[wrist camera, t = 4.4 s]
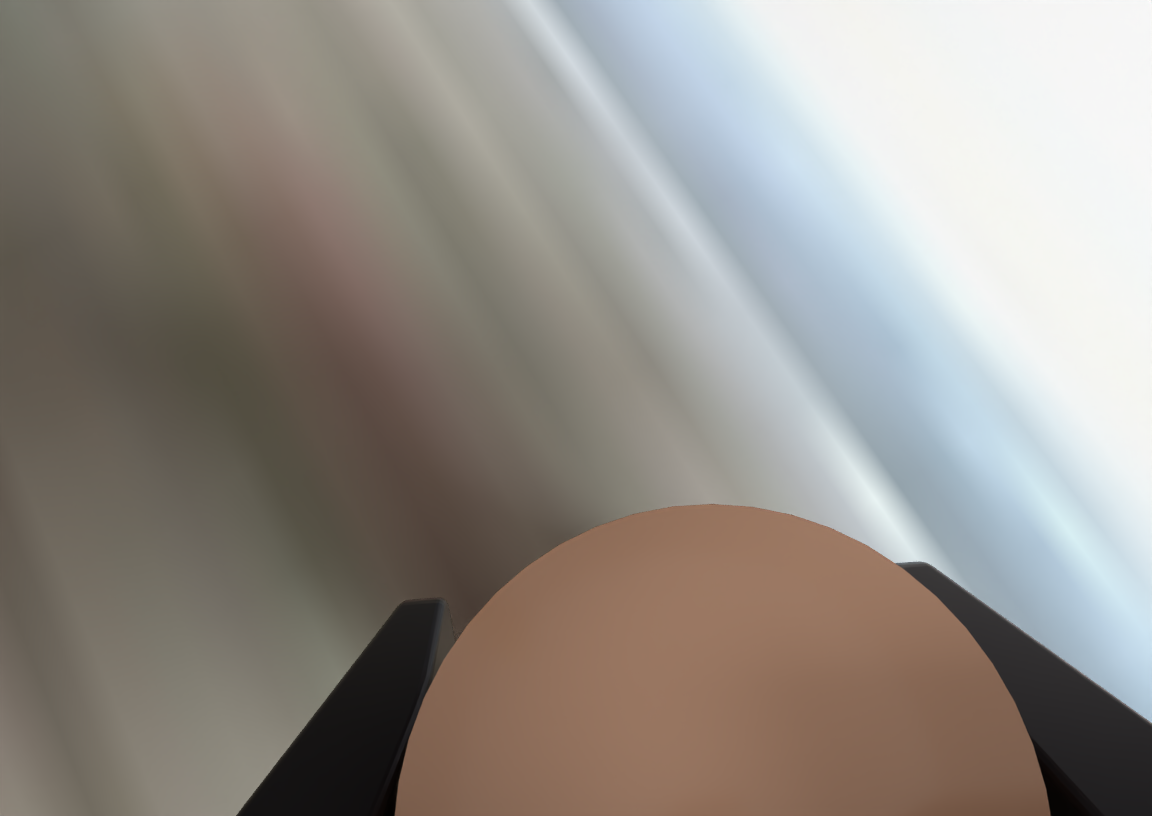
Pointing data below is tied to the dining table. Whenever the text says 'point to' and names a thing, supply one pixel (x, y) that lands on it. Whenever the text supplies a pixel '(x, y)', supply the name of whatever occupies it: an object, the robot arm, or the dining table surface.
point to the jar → (717, 685)
